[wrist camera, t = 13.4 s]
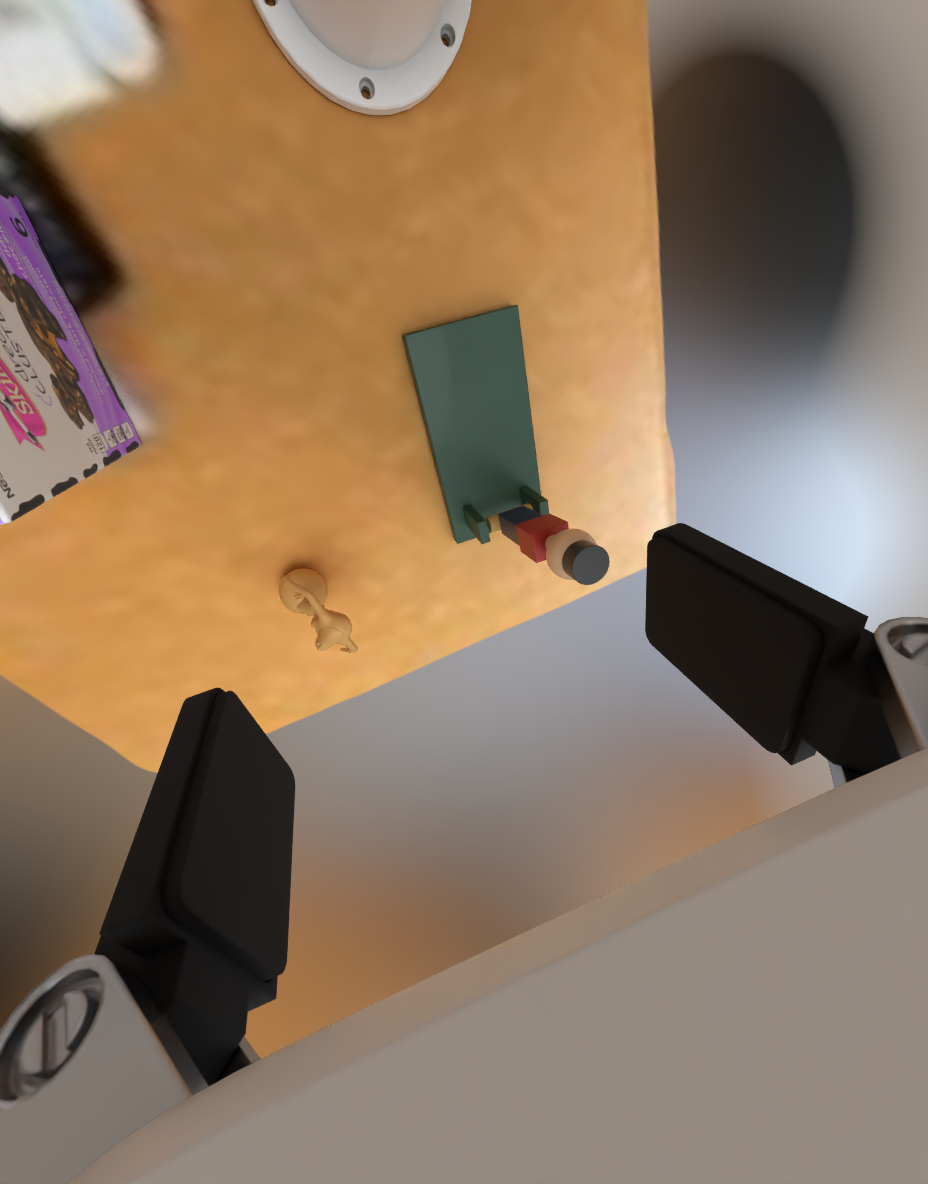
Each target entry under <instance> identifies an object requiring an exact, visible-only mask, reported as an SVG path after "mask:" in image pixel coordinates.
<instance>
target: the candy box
mask: <svg viewBox="0 0 928 1184" xmlns="http://www.w3.org/2000/svg"><path fill="white" fill-rule="evenodd" d="M140 445H141V442H140V439H139V437H138V435H137V433H136V431H135V429H134V427H133V425H132V422H131V421H130V419H129V417H128V415H127V413H126V411H125V409H124V407H123V405H122V403H121V402H120V400H119V398H118V396H117V393H116V391H115V389H114V387H113V385H112V383H111V381H110V379H109V377H108V375H107V373H106V371H105V369H104V368H103V366H102V364H101V362H100V360H99V358H98V356H97V354H96V352H95V350H94V348H93V346H92V343H91V341H90V339H89V337H88V336H87V334H86V332H85V330H84V328H83V326H82V324H81V322H80V320H79V318H78V316H77V314H76V312H75V310H74V308H73V306H72V304H71V302H70V300H69V298H68V296H67V294H66V292H65V290H64V288H63V286H62V284H61V282H60V280H59V278H58V276H57V274H56V272H55V270H54V268H53V266H52V264H51V262H50V260H49V258H48V256H47V254H46V252H45V250H44V248H43V246H42V244H41V242H40V240H39V238H38V236H37V234H36V232H35V230H34V228H33V226H32V224H31V222H30V220H29V218H28V216H27V215H26V213H25V210H24V208H23V206H22V204H21V202H20V200H19V198H18V197H17V196H15V195H13V194H11V193H9V192H7V191H4V190H2V189H0V525H1V524H6V523H10V522H12V521H14V520H15V519H17V518H19V517H21V516H22V515H24V514H26V513H27V512H29V511H31V510H33V509H34V508H36V507H38V506H39V505H41V504H42V503H44V502H46V501H47V500H49V499H51V498H53V497H55V496H56V495H58V494H60V493H61V492H63V491H65V490H67V489H68V488H70V487H72V486H73V485H75V484H77V483H79V482H80V481H82V480H83V479H85V478H87V477H89V476H90V475H92V474H94V473H96V472H98V471H99V470H101V469H102V468H104V467H105V466H107V465H109V464H111V463H112V462H114V461H116V460H118V459H119V458H121V457H122V456H124V455H126V454H127V453H129V452H131V451H133V450H134V449H136V448H137V447H139V446H140Z"/></svg>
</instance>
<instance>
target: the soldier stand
mask: <svg viewBox="0 0 928 1184" xmlns="http://www.w3.org/2000/svg"><path fill="white" fill-rule="evenodd" d="M402 338H403V342H404V346H405V350H406V354H407V357H408V361H409V365H410V369H411V373H412V377H413V381H414V385H415V389H416V393H417V396H418V400H419V404H420V408H421V412H422V416H423V420H424V424H425V428H426V431H427V435H428V439H429V443H430V447H431V451H432V455H433V459H434V463H435V466H436V470H437V474H438V478H439V482H440V486H441V490H442V494H443V498H444V502H445V505H446V509H447V513H448V517H449V521H450V525H451V529H452V533H453V537H454V540H455V541H456V542H457V544H459V543H461V542H464V541H467V540H470V539H473V538H476V537H477V539H478V540H479V541H480V542H481V544H484V543H487V542H490V538H489V533H491V532H490V531H489V529H488V527H487V523H486V517H488V516H491V515H494V514H497V513H500V512H503V511H506V510H509V509H512V508H515V507H518V506H521V505H524V504H527V503H529V504H530V505H531V506H532V508H533V510H534V511H536V512H538V513H540V514H542V515H546V514H549V508H548V500H547V499H545V498H544V497H542V496H541V491H540V483H539V475H538V466H537V458H536V450H535V442H534V434H533V426H532V418H531V409H530V401H529V393H528V385H527V377H526V369H525V361H524V353H523V344H522V336H521V328H520V320H519V312H518V305H513V306H509V307H505V308H501V309H498V310H494V311H490V312H487V313H483V314H479V315H475V316H472V317H468V318H464V319H461V320H457V321H453V322H449V323H446V324H442V325H438V326H435V327H431V328H427V329H423V330H420V331H416V332H412V333H408V334H405V335H402Z"/></svg>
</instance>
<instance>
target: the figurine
mask: <svg viewBox="0 0 928 1184" xmlns="http://www.w3.org/2000/svg"><path fill="white" fill-rule="evenodd" d="M281 578H282V579H283V580H282V581H281V584H280V588H279V594H280V598H281V601H282V602H283V604H284V605H285V606H286V607H287V608H288V609H289V610H291V611H293V612H296V613H300V614H307V615H309V616H313V615H315V616H314V617H313V619H312V622H311V626H312V627H315V629H316V632H317V633H318V637H317V639H316V641H315V646H316V647H317V649H318V650H327V649H328V648H330V647H331V646H332V645H334V644H342V645H345V646H346V647H347V649H345V648H343V649H340V650H341V651H344V652H348V653H351V652H357V651H358V647H357V646H356V645H355V643H354V642H353V641H352V640H351V639H350V636H349V635H350V633H351V632H352V624H351V621H350V619H349V618H348V617H347V616H346V615H344V614H342V613H339V612H334V611H332V610H327V609H325V608H324V605H323V603H324V602H325V600H326V597H327V585H326V582H325V580H324V579H323V577H322V576H321V575H320V574H318V573H317V572H315V571H313V570H310V569H296V570H293V571H291V572H290V573H288V574H287V575H284V577H281Z"/></svg>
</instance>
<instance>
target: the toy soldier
mask: <svg viewBox="0 0 928 1184" xmlns="http://www.w3.org/2000/svg"><path fill="white" fill-rule="evenodd" d="M486 523H487V527H488V529H489V531H490V532H495V531H498V530H502V534H504V535H505V536H507V537H508V538H509V539H511V540H512V541H513V542H515V543H516V544H518V545H519V546H520V549H521V552H522V553H524V554H525V555H526V556H528V557H529V558H530V559H532V560H533V561H534V562H536V563H538V562H541V561H544V560H547V563H548V566H549V567H550V569H551V570H552V571H553V572H554V573H555V574H556V575H557V576H559V577H561V578H564V579H568V580H576V581H577V582H579V583H581V584H584V585H590V584H594V583H596V582H598V581H599V580H601V579H602V578H603V577H604V575H605V574H606V572H607V570H608V567H609V556H608V554H607V552H606V550H605V549H603V548H602V547H600V546H598V545H597V544H596V542H595V541H594V539H593V538H592V537H591V536H590V535H589V534H588V533H586V532H585V531H582V530H579V529H569V528H568V522H567V521H565V520H562V519H560V518H558V517H556V516H554V515H551V514H546V515H542V514H540V513H538V512H536V511H534V510H533V508H532V506H531V505H530V504H529V503H527V504H524V505H521V506H518V507H515V508H512V509H509V510H506V511H503V512H500V513H497V514H494V515H491V516H488V517H486Z"/></svg>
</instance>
